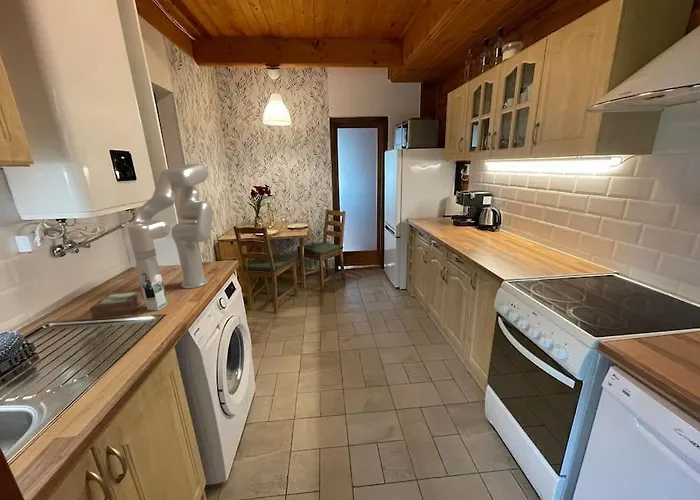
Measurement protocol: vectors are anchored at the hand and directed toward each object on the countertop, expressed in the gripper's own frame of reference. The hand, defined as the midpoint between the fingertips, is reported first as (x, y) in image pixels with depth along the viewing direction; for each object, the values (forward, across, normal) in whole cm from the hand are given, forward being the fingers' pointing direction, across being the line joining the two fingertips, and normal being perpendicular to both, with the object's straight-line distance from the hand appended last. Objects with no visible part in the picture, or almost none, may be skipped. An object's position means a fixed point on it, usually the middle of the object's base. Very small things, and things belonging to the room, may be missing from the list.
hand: (154, 293), depth 136 cm
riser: (+6, -3, -16) cm, 17 cm away
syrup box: (+7, 0, 0) cm, 7 cm away
